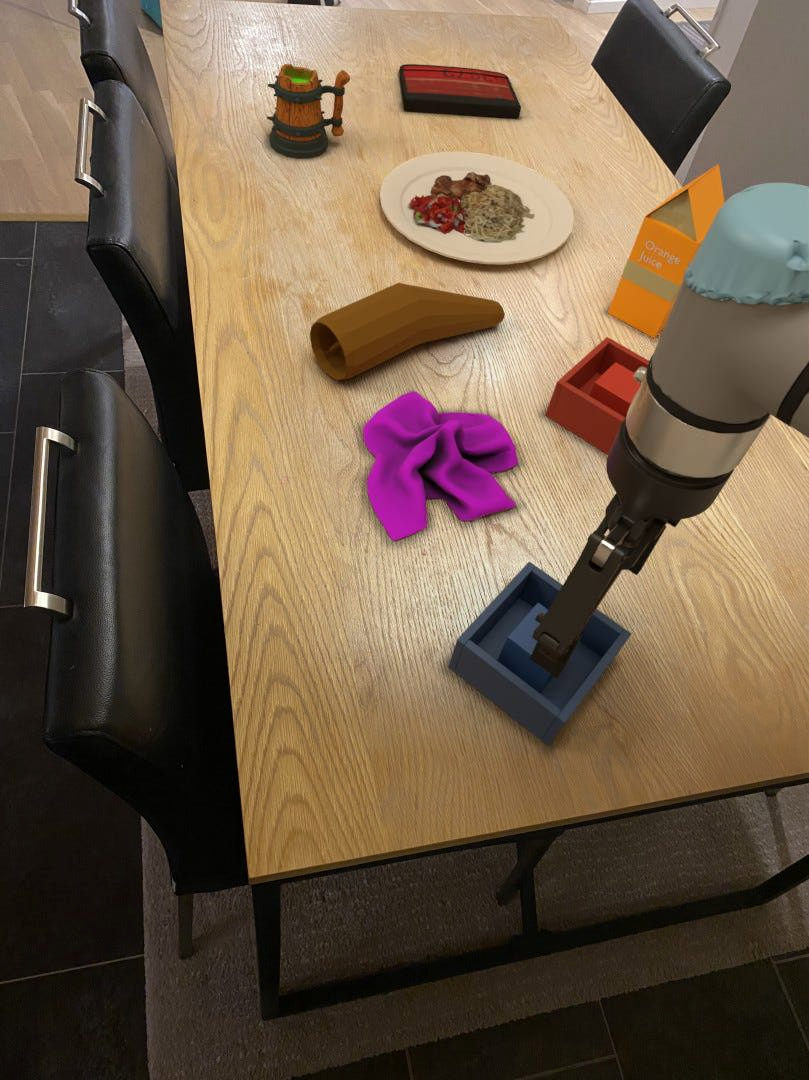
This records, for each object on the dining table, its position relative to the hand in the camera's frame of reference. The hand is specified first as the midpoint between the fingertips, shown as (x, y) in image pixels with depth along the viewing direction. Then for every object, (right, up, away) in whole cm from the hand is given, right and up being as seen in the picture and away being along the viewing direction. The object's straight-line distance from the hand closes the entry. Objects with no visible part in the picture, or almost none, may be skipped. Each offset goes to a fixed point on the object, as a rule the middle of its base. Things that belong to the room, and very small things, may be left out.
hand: (587, 612), depth 65 cm
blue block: (-4, -5, +8) cm, 10 cm away
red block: (+10, +22, +29) cm, 37 cm away
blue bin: (-4, -6, +8) cm, 10 cm away
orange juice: (+18, +38, +42) cm, 60 cm away
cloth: (-12, +14, +21) cm, 28 cm away
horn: (-15, +32, +33) cm, 48 cm away
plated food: (-5, +57, +52) cm, 77 cm away
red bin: (+10, +22, +29) cm, 37 cm away
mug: (-32, +71, +60) cm, 98 cm away
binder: (-6, +88, +75) cm, 116 cm away
